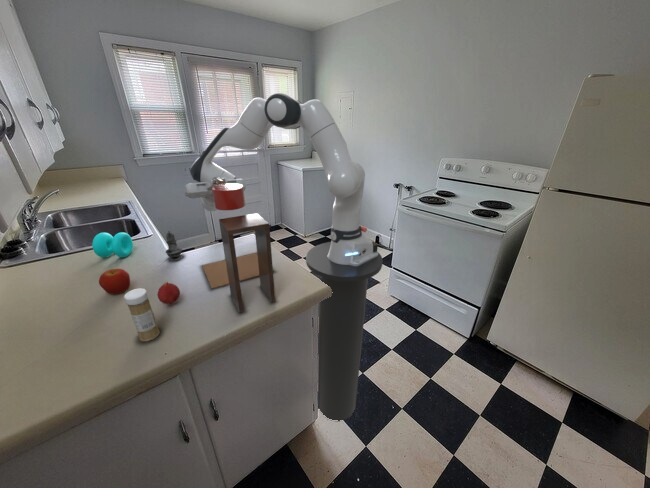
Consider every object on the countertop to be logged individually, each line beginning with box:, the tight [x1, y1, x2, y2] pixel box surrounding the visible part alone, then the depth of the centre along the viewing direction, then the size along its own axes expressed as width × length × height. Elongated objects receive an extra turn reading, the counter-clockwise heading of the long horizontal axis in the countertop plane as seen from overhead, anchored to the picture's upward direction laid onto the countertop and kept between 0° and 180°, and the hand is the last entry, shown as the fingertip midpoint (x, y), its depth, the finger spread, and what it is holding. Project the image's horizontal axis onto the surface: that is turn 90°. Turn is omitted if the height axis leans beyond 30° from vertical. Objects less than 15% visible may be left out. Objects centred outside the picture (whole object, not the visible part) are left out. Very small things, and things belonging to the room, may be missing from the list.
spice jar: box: [123, 287, 161, 342], centre depth 67 cm, size 5×5×13 cm
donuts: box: [91, 231, 134, 258], centre depth 107 cm, size 10×10×10 cm
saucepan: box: [212, 177, 246, 211], centre depth 88 cm, size 9×22×6 cm, turn 32°
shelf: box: [218, 212, 276, 314], centre depth 80 cm, size 11×10×26 cm
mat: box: [201, 252, 275, 290], centre depth 101 cm, size 22×18×1 cm
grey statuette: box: [165, 230, 184, 262], centre depth 106 cm, size 6×6×12 cm
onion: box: [156, 281, 181, 306], centre depth 80 cm, size 6×6×8 cm
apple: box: [98, 268, 131, 295], centre depth 86 cm, size 8×8×8 cm
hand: (219, 181), depth 91 cm, fingers closed on saucepan, 2 cm apart
